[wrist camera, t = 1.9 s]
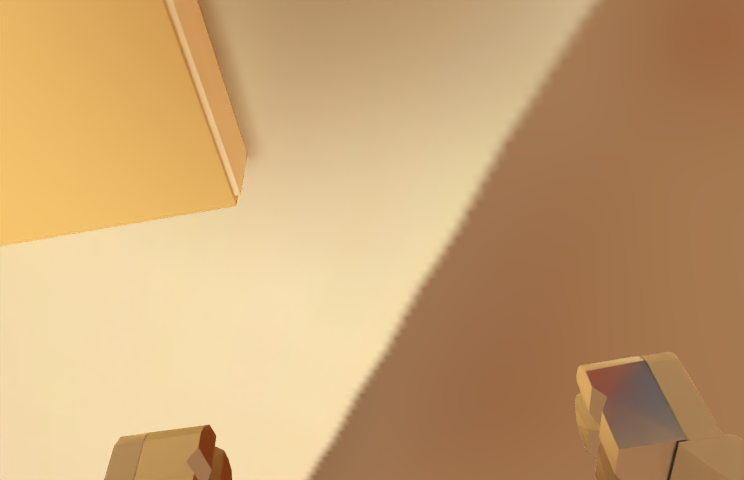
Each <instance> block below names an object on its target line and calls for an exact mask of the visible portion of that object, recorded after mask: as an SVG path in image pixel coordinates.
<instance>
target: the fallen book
mask: <svg viewBox="0 0 744 480" xmlns="http://www.w3.org/2000/svg"><path fill="white" fill-rule="evenodd" d="M246 159H247V152H246V149H245V146H244V143H243V139H242V136H241V133H240V130H239V127H238V124H237V121H236V118H235V115H234V112H233V109H232V106H231V103H230V100H229V96H228V93H227V90H226V87H225V84H224V81H223V78H222V75H221V72H220V69H219V66H218V63H217V60H216V57H215V53H214V50H213V47H212V44H211V41H210V38H209V35H208V32H207V29H206V26H205V23H204V20H203V17H202V14H201V10H200V7H199V4H198V1H197V0H0V246H4V245H10V244H16V243H22V242H27V241H33V240H39V239H45V238H51V237H57V236H63V235H68V234H74V233H80V232H86V231H92V230H98V229H103V228H109V227H115V226H121V225H127V224H133V223H139V222H144V221H150V220H156V219H162V218H168V217H174V216H179V215H185V214H191V213H197V212H203V211H209V210H215V209H220V208H226V207H232V206H236V203H237V198H238V195H241V189H242V183H243V177H244V171H245V165H246Z"/></svg>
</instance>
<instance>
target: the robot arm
mask: <svg viewBox="0 0 744 480" xmlns="http://www.w3.org/2000/svg"><path fill="white" fill-rule="evenodd" d="M577 383H578V385H579V388H580V390H581V392H580V393H579V394H578V395H577V396H576V397H575V411H576V418H577V424H578V429H579V432H580V436H581V438H582V441H583V444H584V447H585V450H586V452H588V453H589V454H590V455H592V456H593V457H594V458H596V459H597V461H596V472H595V476H596V479H597V480H744V441H743V440H742V439H740V438H739V437H737V436H735V435H734V434H731V435H723V433H722V431H721V429H720V428H719V426H718V424H717V423H716V421H715V419H714V417H713V416H712V414H711V412H710V411H709V409H708V407H707V406H706V404H705V402H704V401H703V399H702V397H701V395H700V394H699V392H698V390H697V389H696V387H695V385H694V384H693V382H692V380H691V379H690V377H689V376H688V374H687V372H686V370H685V369H684V367H683V365H682V363H681V362H680V360H679V358H678V357H677V356H676V355H675V354H674V353H672V352H663V353H657V354H651V355H646V356H640V357H638V356H635V357H628V358H622V359H617V360H611V361H605V362H599V363H593V364H587V365H582V366H579V368H578V370H577ZM215 441H216V435H215V433H214V431H213V430H212V428H211V426H210V425H204V426H196V427H189V428H181V429H174V430H166V431H159V432H150V433H144V434H137V435H130V436H124V437H120V439H119V440H118V442H117V443H116V445H115V446H114V448H113V452H112V455H111V459H110V462H109V465H108V469H107V472H106V476H105V479H104V480H232V471H231V467H230V463H229V459H228V457H227V455H226V453H225V451H224V450H222V449H220V448H217V447H215Z"/></svg>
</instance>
